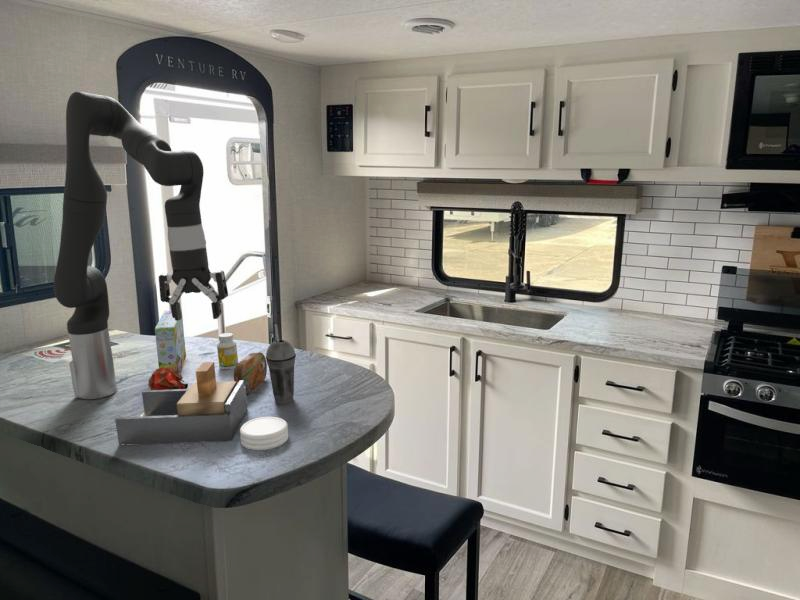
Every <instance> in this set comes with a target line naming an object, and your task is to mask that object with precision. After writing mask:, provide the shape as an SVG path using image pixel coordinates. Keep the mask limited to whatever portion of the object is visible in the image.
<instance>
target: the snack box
mask: <svg viewBox="0 0 800 600" xmlns="http://www.w3.org/2000/svg"><path fill="white" fill-rule="evenodd" d="M181 315H182V316H183V309H181ZM154 333H155V335H154V336H155V344H156V351H157V352H156V354H157V363H158V369H159V368H162V367H169V368H170V369H177V370H178V374H179V375H181V373H182V369H183V367H184V363H185V360H186V357H187V352H186V350H187V349H186V340H185V332H184V319H183V317H182V318H181V319H180V320H177V321H176V320H175V318H173V317H172V312H171V309H168V310H167V309H166V310H164V311H163V312H162V315H161V316H160V318H159V320H158V322H157V324H156V325H155V328H154Z"/></svg>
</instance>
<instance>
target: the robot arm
mask: <svg viewBox="0 0 800 600" xmlns="http://www.w3.org/2000/svg"><path fill="white" fill-rule="evenodd" d="M138 121H139V120H137V119H136V118H135V117H134V116H133V115H132V114H131V113H129V111H128V110H127V109H126V108H125V107H124V106H123V105H122V103H120V102H119V101H118V100H117V99H115V98H113V97H111V96H108V95H102V94H96V93H92V92H85V91H74V92H72V93H71V94H70V95H69V98H68V99H67V103H66V110H65V133H66V134H65V137H66V143H65V144H66V161H65V162H66V163H65V166H66V167H65V178H64V179H65V180H64V189H63V199H62V200H63V201H62V219H61V221H62V223H61V231H60V242H59V249H58V250H59V251H58V256H57V257H58V258H57V262H56V267H55V271H54V276H53V277H54V278H53V293H54V296H55V298H56V300H57V302H58V303H59V304H60V305H62V306H63V307H65V308H67V309H68V308H69V309H73V308H75V309H74V312H73V314H72V315H71V316H70V318H69V319H68V320H67V322H66V330H67V334H68V341H69V345H70V346H69V347H70V353H71V358H72V360H71V361H70V362H69V370H70V376H71V382H72V388H73V395H74V398H76V399H77V398H79V399H83V400H94V399H96V400H97V399H102V398H105V397H108V396H110V395H113V394H115V393H116V392H117V391H118V386H117V385H118V384H117V380H116V379H117V378H116V372H115V363H114V358H113V351H112V344H111V337H110V331H109V324H108V321H109V318H110V302H109V292H108V286H107V285H108V284H107V281H106V279H105V275H104V274H103V272H102V271H100V269H98V268H97V267H96V266H92V265H88V264H89V258H90V253H91V251H92V248H93V246H94V245H95V242H96V240H97V238H98V237H99V235H100V233H101V230H102V229H103V227H104V223H105V221H106V215H107V205H108V204H107V202H108V193H107V188H106V186H105V184H104V182H103V179H102V177H101V176H100V175H99V173H98V171H97V168H96V167H95V165H94V163H93V160H92V157H91V152H90V136H99V137H113V138H116V139H118V140H120V141H121V146H122V147H123V149H124V151H125V153H126V154H128V156H130V158H132V159H134V160H135V161H137V162H138V163H139V164H140V165H143V167H144V168H145V170H146V171H147V173H148V175H149V176H150V177H151V179H152V180H153V182H155V183H156V184H158V185H160V186H164V187H175V186H180V189H179V192H178V194H177V195H176V196H173V197H170V198H167V199H166V200H165V201H164V213H165V219H166V227H167V241H168V249H169V255H170V263H171V264H170V265H171V270H172V274H168V273H167V272H164V273H162V274H160V275H159V276H158V286H159V296H160V297H159V298H160V301H161V302H162V303H165V302H166V303H168V304H169V305H170V310H171V312H172V317H173V318H175V320H176V321H177V320H180V319H181V318H183V314H182V315H181V310H182V309H181V303H180V302H179V300H180V298H181V297H182V296H183V294H184V293H185V294H191V293H194V294H195V293H196V294H200V293H201V292H202V294H203V295H205V296H206V297H208V299H209V300H210V301H211V302H210V304H211V311H212V318H213V320H217V319H219V318H220V316H221V315H222V308H221V307H222V305H221V301H222V300H224V299H226V298H227V297H228V296H229V292H228V286H227V280H226V274H225V271H224V270H219V271H214V272H213V271H212V272H211V269H210V268H209V260H208V251H207V241H206V236H205V231H204V227H203V224H202V223H203V222H202V215H201V207H200V206H201V205H200V204H201V203H200V202H201V196H202V188H203V180H204V175H205V174H204V173H205V171H204V165H203V162H202V160H201V158H200V156H199V155H198V154H197V153H196V152H194V151H193V150H172V148H171V146H170V145H169V143H168V142H167V141H166V140H164V139H163V138H161V137H160V136H159V135H157V134H155V133H153V132H152V131H150V129H148V128H146V127H145V126H144V125H142V124H141V123H140V122H138ZM211 279H213V281H214V282H215V283H216V285H217V287H216V288H217V291H216V289H215V288H214V287H213V285H212V284H211V283H210V281H211ZM172 282H173V283H174V284H175V285H176V287H175V289H174V291H173V293H172V295H171V289H170V284H171V283H172Z"/></svg>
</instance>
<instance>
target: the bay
mask: <svg viewBox="0 0 800 600" xmlns="http://www.w3.org/2000/svg"><path fill="white" fill-rule="evenodd" d="M188 389H189V388H187V389H173V390H142V391H141V397H142V404H143V410H144V411H143V413H142V414H141V415H139V416H122V417H121V416H119V417H118V416H117V417H116V418H115V420H114V421H115V428H116V435H117V441H118V446H123V445H122V444H125V445H124V446H127V445H126V444H142V445H160V444H161V445H162V444H163V445H164V444H185V443H186V444H188V443H189V444H190V443H210V442H216V443H217V442H232V441H233V440H234V438H235V436H236V435H237V432H238V430H239V428H240V426H241V425H242V423H243V420H244V418H245V416H246V414H247V412H248V401H247V393H246V387H244V380H240V381H239V382H238V384H237V385H236V387H235V389H234V390H233V392H232V394H231V395H230V397H229V399H228V400H227V402H226V404H225V409H226V413H216V414H191V415H178V410H177V403H178V401H179V400H180V399H181V398H182V396H183V395H184V394H185V393H186V391H187V390H188Z"/></svg>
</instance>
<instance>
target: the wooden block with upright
mask: <svg viewBox="0 0 800 600" xmlns="http://www.w3.org/2000/svg"><path fill="white" fill-rule="evenodd" d="M195 378H196V382H192V384H191V385H190V386H189V388H187V389H188V390H187V391H186V393H185V394H184V395H183V396H182V398H181V399H180V400H179V401H178V403H177V410H178V415H191V414H216V413H226V409H225V404H226V402H227V400H228V399H229V397H230V395H231V394H232V392H233V390H234V389H235V387H236V385H237V383H236V381H234V380H233V381H217V379H216V378H217V377H216V369H215V362H214V361H204V362H203V361H202V363H201V365H199V367H198V368H197V369H196V371H195Z"/></svg>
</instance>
